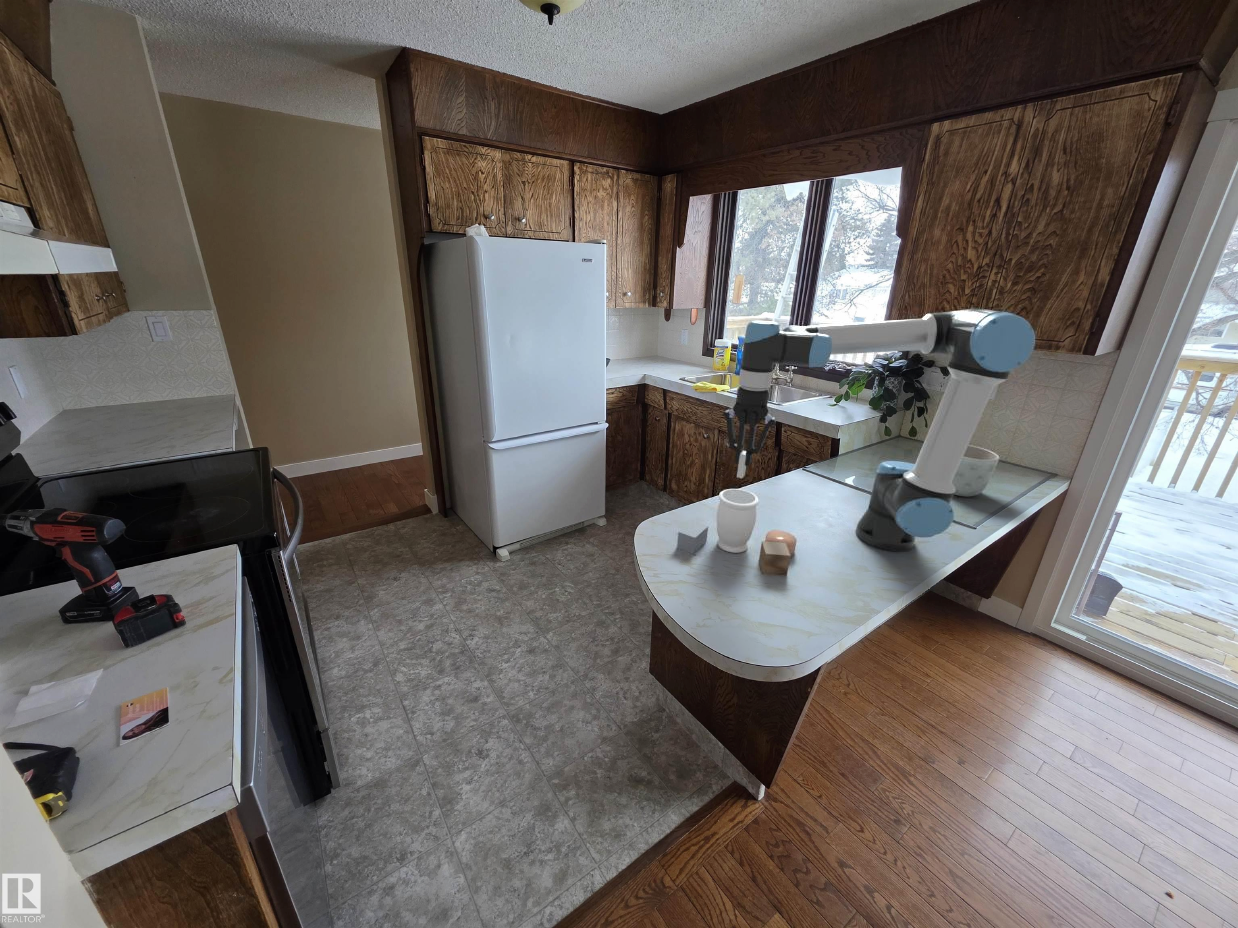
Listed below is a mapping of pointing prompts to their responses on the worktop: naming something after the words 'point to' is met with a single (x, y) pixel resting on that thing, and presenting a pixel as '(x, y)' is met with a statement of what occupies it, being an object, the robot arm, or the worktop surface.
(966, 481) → the planter
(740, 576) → the worktop surface
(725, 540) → the jar
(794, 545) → the glossy peach dome
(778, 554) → the walnut block
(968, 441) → the robot arm
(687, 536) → the slate block
